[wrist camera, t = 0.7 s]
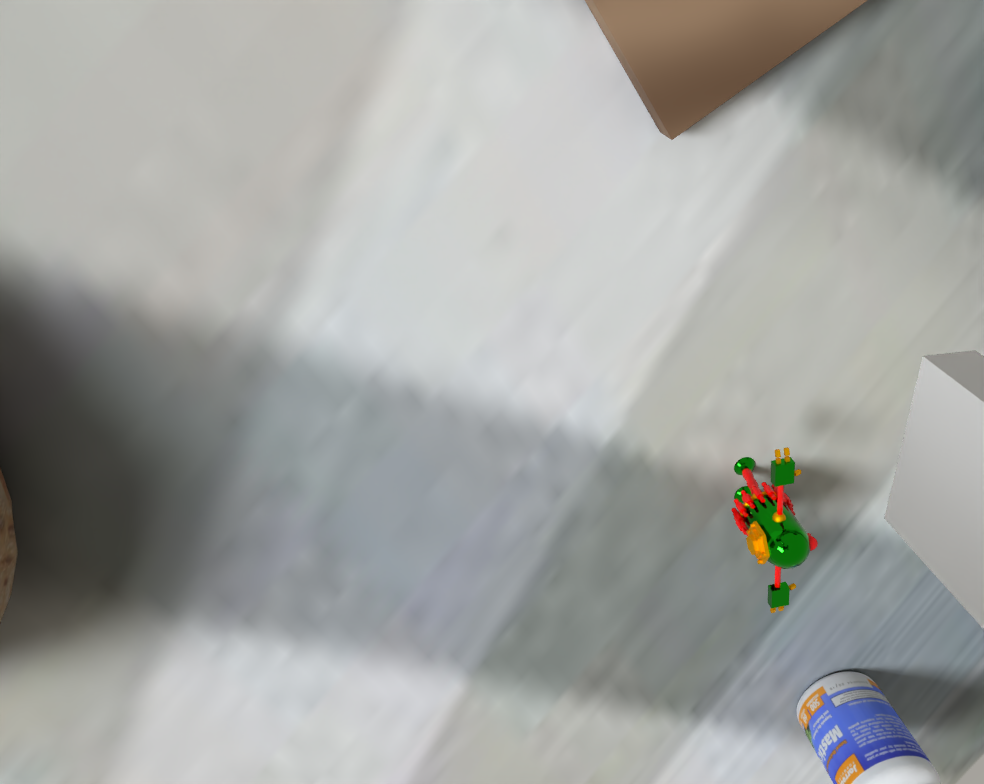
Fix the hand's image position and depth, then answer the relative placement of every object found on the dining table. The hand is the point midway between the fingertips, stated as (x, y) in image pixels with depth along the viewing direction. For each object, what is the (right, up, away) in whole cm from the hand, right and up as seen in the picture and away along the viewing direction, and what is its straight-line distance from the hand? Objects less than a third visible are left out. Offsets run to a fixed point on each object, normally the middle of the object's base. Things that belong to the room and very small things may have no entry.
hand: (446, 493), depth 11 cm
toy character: (+13, -3, +34) cm, 36 cm away
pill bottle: (+22, -18, +43) cm, 52 cm away
